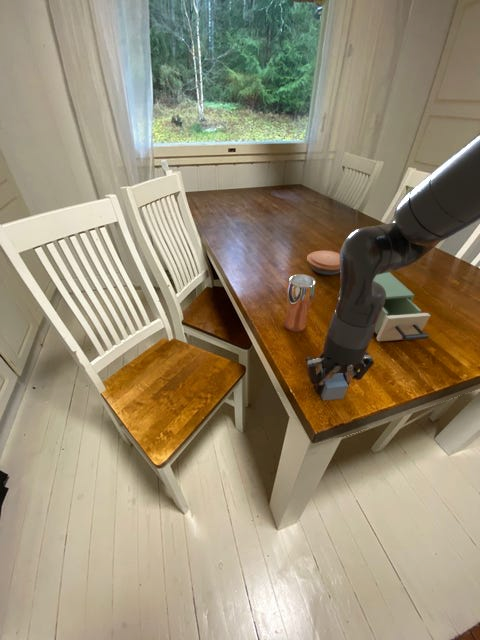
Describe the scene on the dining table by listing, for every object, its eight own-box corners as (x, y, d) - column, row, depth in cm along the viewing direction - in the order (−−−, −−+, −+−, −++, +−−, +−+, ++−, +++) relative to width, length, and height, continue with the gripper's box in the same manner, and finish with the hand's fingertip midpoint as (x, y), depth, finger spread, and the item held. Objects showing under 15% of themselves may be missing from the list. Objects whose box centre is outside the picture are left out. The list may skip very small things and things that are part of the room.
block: (343, 398, 60) (348, 385, 57) (322, 400, 59) (327, 387, 56) (334, 382, 63) (339, 368, 60) (315, 383, 63) (319, 370, 60)
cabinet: (401, 322, 81) (414, 295, 75) (361, 325, 79) (371, 297, 73) (373, 291, 93) (383, 266, 87) (338, 293, 92) (345, 268, 86)
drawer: (429, 351, 70) (444, 328, 65) (388, 354, 69) (399, 331, 64) (387, 305, 86) (396, 283, 81) (352, 307, 85) (359, 285, 80)
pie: (348, 280, 99) (351, 267, 96) (305, 275, 102) (307, 263, 98) (344, 261, 111) (347, 249, 108) (305, 257, 113) (307, 246, 110)
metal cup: (279, 319, 81) (284, 275, 72) (300, 316, 82) (308, 272, 73) (288, 334, 76) (295, 289, 66) (311, 330, 77) (321, 285, 68)
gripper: (318, 351, 47) (303, 408, 57) (396, 344, 48) (367, 401, 59) (305, 323, 53) (293, 380, 63) (375, 318, 54) (352, 374, 65)
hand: (329, 390), depth 61 cm, fingers closed on block, 4 cm apart
